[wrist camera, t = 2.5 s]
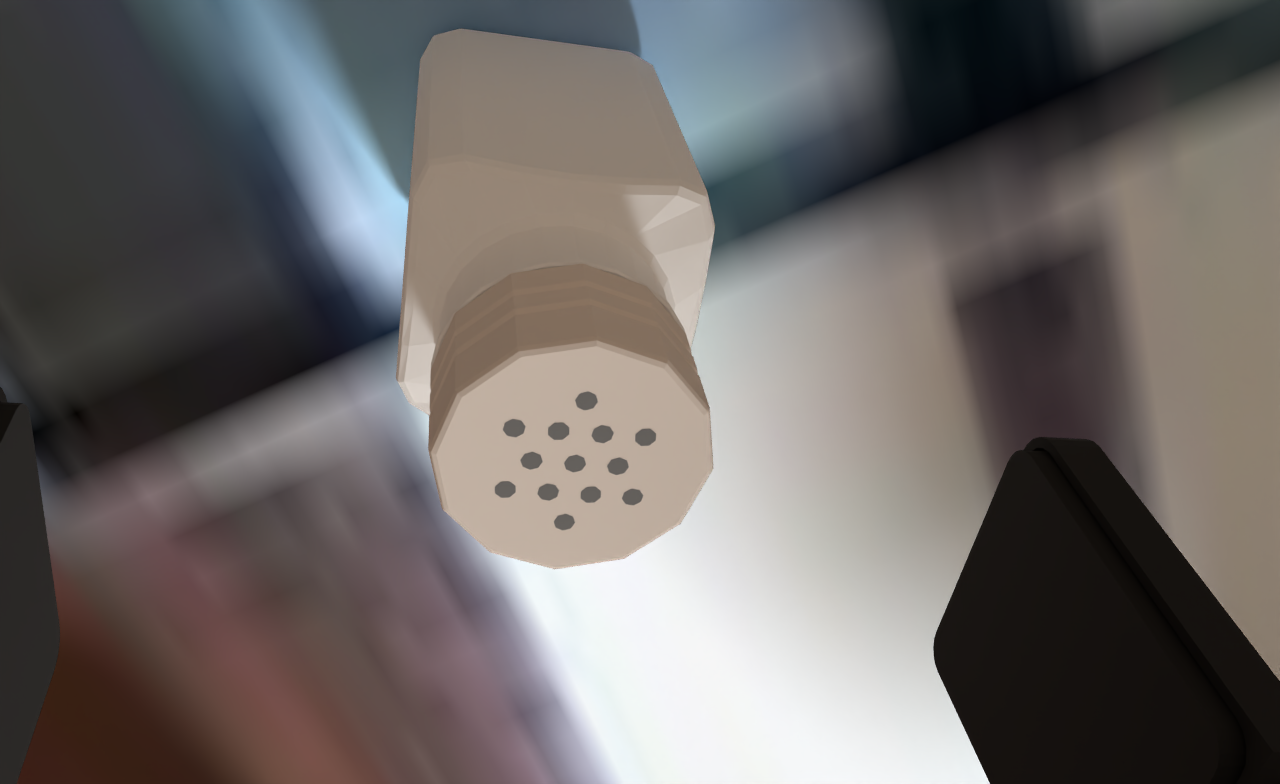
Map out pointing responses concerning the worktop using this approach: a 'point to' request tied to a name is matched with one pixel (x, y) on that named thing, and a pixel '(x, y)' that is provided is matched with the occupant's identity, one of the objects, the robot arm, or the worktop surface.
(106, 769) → the worktop surface
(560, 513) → the pepper shaker
